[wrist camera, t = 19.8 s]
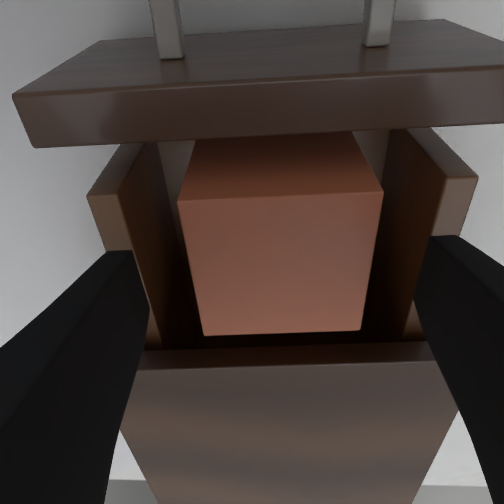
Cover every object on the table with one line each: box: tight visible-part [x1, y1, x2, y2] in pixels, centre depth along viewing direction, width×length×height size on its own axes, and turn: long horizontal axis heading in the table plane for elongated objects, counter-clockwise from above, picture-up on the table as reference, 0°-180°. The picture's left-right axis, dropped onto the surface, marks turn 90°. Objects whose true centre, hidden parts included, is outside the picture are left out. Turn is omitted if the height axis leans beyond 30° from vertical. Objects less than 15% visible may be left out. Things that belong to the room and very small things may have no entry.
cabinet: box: [120, 338, 459, 504], centre depth 19 cm, size 14×12×8 cm
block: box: [177, 131, 384, 336], centre depth 12 cm, size 4×4×6 cm
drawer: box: [12, 0, 504, 350], centre depth 12 cm, size 18×11×6 cm, turn 3°
